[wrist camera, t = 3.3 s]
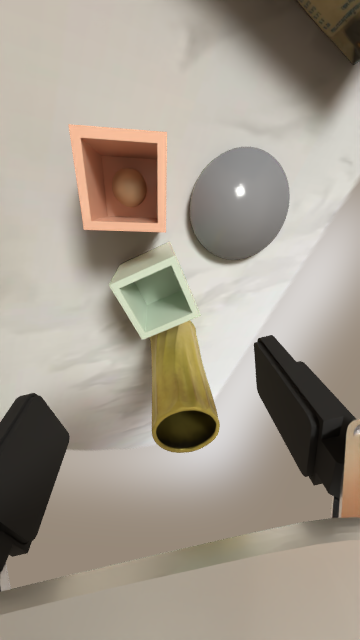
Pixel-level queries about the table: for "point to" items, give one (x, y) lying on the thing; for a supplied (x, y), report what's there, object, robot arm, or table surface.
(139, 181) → the cork ball
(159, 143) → the cup terracotta
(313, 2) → the beverage carton
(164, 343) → the vase
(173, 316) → the cup green
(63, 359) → the table surface
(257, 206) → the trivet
